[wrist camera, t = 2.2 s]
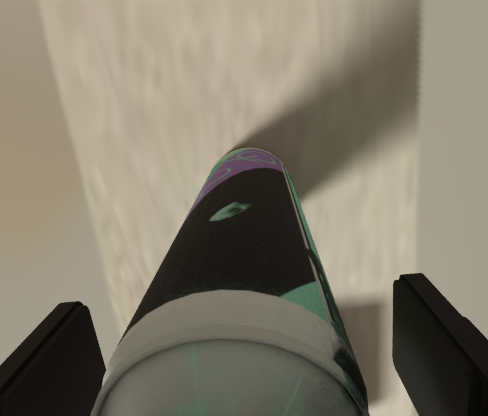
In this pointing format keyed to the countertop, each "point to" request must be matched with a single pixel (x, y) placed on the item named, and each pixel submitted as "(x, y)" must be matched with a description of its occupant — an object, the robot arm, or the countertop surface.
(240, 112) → the countertop surface
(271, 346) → the spray can
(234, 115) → the countertop surface
